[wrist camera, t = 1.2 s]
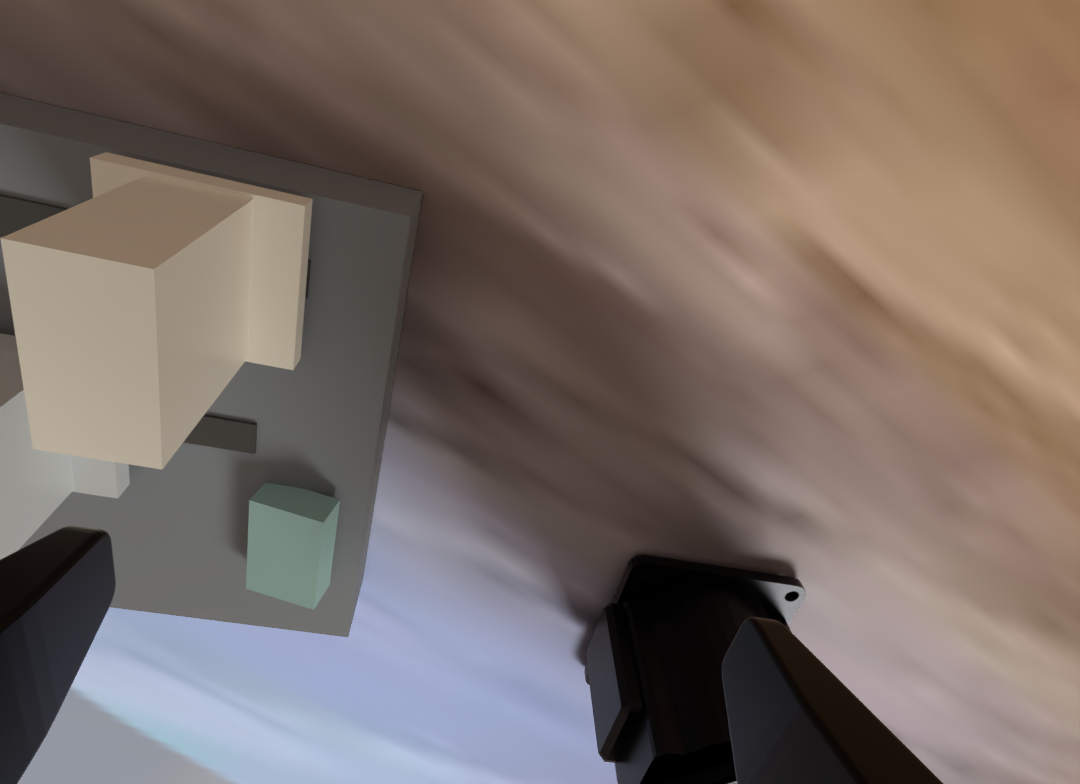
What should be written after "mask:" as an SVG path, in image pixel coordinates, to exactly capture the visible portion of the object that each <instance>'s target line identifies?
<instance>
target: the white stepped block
mask: <svg viewBox="0 0 1080 784" xmlns="http://www.w3.org/2000/svg"><path fill="white" fill-rule="evenodd" d="M129 484H130V479H129V464H124V463H117V462H111V461H105V460H99V459H92V458H86V457H80V456H73V455H67V454H61V453H54V452H48V451H42V450H35V449H33V446H32V439H31V433H30V426H29V420H28V413H27V407H26V401H25V394H24V388H23V381H22V375H21V368H20V362H19V355H18V349H17V342H16V336H13V335H7V334H2V333H0V560H1V559H2V558H4V557H6V556H8V555H10V554H12V553H14V552H16V551H18V550H19V549H20V548H21V547H22V545H23V544H24V543H25V542H26V541H27V540H28V539H29V538H30V537H31V536H32V535H33V534H34V532H35V531H36V530H37V529H38V528H39V527H40V526H41V525H42V524H43V523H44V522H45V520H46V519H47V518H48V517H49V516H50V515H51V514H52V513H53V512H54V511H55V510H56V509H57V507H58V506H59V505H60V504H61V503H62V502H63V501H64V500H65V499H66V498H67V497H68V495H69V494H70V493H71V492H77V493H84V494H91V495H97V496H104V497H111V498H117V499H118V498H119V497H120V495H121V494H122V493H123V492H124V491H125V489H126V488H127V487H128V486H129Z"/></svg>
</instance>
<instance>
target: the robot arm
mask: <svg viewBox="0 0 1080 784" xmlns="http://www.w3.org/2000/svg"><path fill="white" fill-rule="evenodd" d="M641 569H646V570H644V571H639V570H641ZM115 587H116V577H115V569H114V560H113V551H112V542H111V538H110V535H109V534H108V533H107V532H106V531H104V530H102V529H95V528H87V527H80V526H66V527H63V528H60V529H58V530H56V531H54V532H52V533H50V534H49V535H47V536H45V537H43V538H41V539H39V540H37V541H35V542H33V543H31V544H29V545H27V546H25V547H24V548H22V549H20V550H18V551H16V552H14V553H12V554H10V555H8V556H6V557H4V558H2V559H1V560H0V784H17V783H18V781H19V780H20V778H21V777H22V775H23V774H24V772H25V770H26V769H27V767H28V765H29V764H30V762H31V760H32V759H33V757H34V756H35V754H36V752H37V750H38V749H39V747H40V745H41V744H42V742H43V740H44V738H45V737H46V735H47V733H48V731H49V729H50V727H51V725H52V723H53V721H54V720H55V718H56V716H57V714H58V712H59V710H60V708H61V706H62V703H63V701H64V699H65V697H66V695H67V693H68V691H69V689H70V687H71V685H72V683H73V681H74V679H75V677H76V675H77V673H78V670H79V668H80V666H81V664H82V662H83V660H84V658H85V656H86V654H87V652H88V650H89V648H90V646H91V644H92V642H93V640H94V637H95V635H96V633H97V631H98V629H99V627H100V625H101V623H102V621H103V619H104V617H105V615H106V613H107V611H108V609H109V607H110V604H111V602H112V599H113V596H114V593H115ZM805 596H806V592H805V589H804V588H803V586H802V584H801V582H800V581H799V580H798V579H795V578H791V577H785V576H778V575H772V574H765V573H759V572H753V571H746V570H740V569H733V568H727V567H721V566H714V565H708V564H701V563H695V562H689V561H682V560H676V559H669V558H663V557H657V556H650V555H639V556H636V557H634V558H633V559H631V560H630V562H629V563H628V565H627V568H626V570H625V573H624V575H623V577H622V580H621V582H620V585H619V587H618V589H617V592H616V594H615V597H614V599H613V601H612V603H609V604H608V605H607V606H606V607H605V608H604V609H603V612H602V614H601V617H600V619H599V621H598V624H597V626H596V629H595V631H594V634H593V636H592V639H591V641H590V643H589V646H588V648H587V651H586V659H587V664H586V667H585V679H586V682H587V684H589V685H590V691H591V699H592V707H593V715H594V723H595V731H596V739H597V747H598V753H599V755H600V756H601V757H602V759H603V760H604V761H605V762H614V763H615V768H616V775H617V782H618V784H943V783H942V782H941V781H940V780H939V779H938V778H937V777H936V776H935V775H934V774H933V773H932V772H931V771H930V770H929V769H928V768H927V767H926V766H925V765H924V764H923V763H922V762H921V761H920V760H919V759H918V758H917V757H916V756H915V755H914V754H913V753H912V752H911V751H910V750H909V749H908V748H907V747H906V746H905V745H904V744H903V743H902V742H901V741H900V740H899V739H898V738H897V737H896V736H895V735H894V734H893V733H892V732H891V731H890V730H889V729H888V728H887V727H886V726H885V725H884V724H883V723H882V722H881V721H880V720H879V719H878V718H877V717H876V716H875V715H874V714H873V713H872V712H871V711H870V710H869V709H868V708H867V707H866V706H865V705H864V704H863V703H862V702H861V701H860V700H859V699H858V698H857V697H856V696H855V695H854V694H853V693H852V692H851V691H850V690H849V689H848V688H847V687H846V686H845V685H844V684H843V683H842V682H841V681H840V680H839V679H838V678H837V677H836V676H835V675H834V674H833V673H832V672H831V671H830V670H829V669H828V668H827V667H826V666H825V665H824V664H823V663H822V662H821V661H820V660H819V659H818V658H817V657H816V656H815V655H814V654H813V653H812V652H810V651H809V650H808V649H807V648H806V647H805V646H804V645H803V644H802V643H801V642H800V641H799V640H798V639H797V638H796V637H795V636H794V635H793V634H792V632H791V630H790V628H789V626H788V625H789V623H790V622H791V620H792V618H793V617H794V615H795V613H796V612H797V610H798V609H799V607H800V605H801V604H802V602H803V600H804V599H805Z"/></svg>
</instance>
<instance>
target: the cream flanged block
mask: <svg viewBox="0 0 1080 784" xmlns="http://www.w3.org/2000/svg"><path fill="white" fill-rule="evenodd" d="M90 167H91V179H92V191H93V198H92V199H90V200H88V201H85V202H83V203H81V204H78V205H76V206H74V207H71V208H69V209H67V210H65V211H62V212H60V213H58V214H55V215H53V216H51V217H48V218H46V219H44V220H41V221H39V222H37V223H34V224H32V225H30V226H28V227H25V228H23V229H21V230H18V231H16V232H14V233H11V234H9V235H7V236H4V237H2V238H0V239H1V245H2V252H3V258H4V265H5V271H6V277H7V284H8V290H9V297H10V303H11V310H12V316H13V323H14V329H15V336H16V342H17V349H18V355H19V362H20V368H21V375H22V381H23V388H24V394H25V401H26V407H27V413H28V420H29V426H30V433H31V439H32V446H33V449H35V450H42V451H48V452H54V453H61V454H67V455H73V456H80V457H86V458H92V459H99V460H105V461H111V462H117V463H124V464H130V465H136V466H143V467H149V468H155V469H163V468H164V467H165V465H166V464H167V463H168V462H169V460H170V459H171V458H172V456H173V455H174V454H175V452H176V451H177V450H178V448H179V447H180V446H181V445H182V443H183V442H184V441H185V439H186V438H187V437H188V435H189V434H190V433H191V431H192V430H193V429H194V428H195V426H196V425H197V424H198V422H199V421H200V420H201V418H202V417H203V416H204V414H205V413H206V412H207V411H208V409H209V408H210V407H211V405H212V404H213V403H214V401H215V400H216V399H217V397H218V396H219V395H220V394H221V392H222V391H223V390H224V388H225V387H226V386H227V384H228V383H229V382H230V380H231V379H232V378H233V377H234V375H235V374H236V373H237V371H238V370H239V369H240V367H241V366H242V365H243V363H244V362H245V361H246V362H251V363H256V364H262V365H267V366H272V367H278V368H283V369H289V370H294V368H295V367H296V365H297V363H298V362H299V360H300V359H301V345H302V332H303V319H304V306H305V293H306V280H307V267H308V254H309V241H310V228H311V214H312V201H313V199H311V198H307V197H302V196H298V195H293V194H289V193H285V192H280V191H276V190H271V189H267V188H263V187H258V186H254V185H249V184H245V183H240V182H236V181H232V180H227V179H223V178H218V177H214V176H210V175H205V174H201V173H196V172H192V171H187V170H183V169H179V168H174V167H170V166H165V165H161V164H157V163H152V162H148V161H143V160H139V159H134V158H130V157H126V156H121V155H117V154H112V153H108V152H105V153H102V154H99V155H96V156H93V157H90Z"/></svg>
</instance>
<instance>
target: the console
mask: <svg viewBox="0 0 1080 784" xmlns="http://www.w3.org/2000/svg"><path fill="white" fill-rule="evenodd" d="M105 152H108V153H112V154H117V155H121V156H126V157H130V158H134V159H139V160H143V161H148V162H152V163H157V164H161V165H165V166H170V167H174V168H179V169H183V170H187V171H192V172H196V173H201V174H205V175H210V176H214V177H218V178H223V179H227V180H232V181H236V182H240V183H245V184H249V185H254V186H258V187H263V188H267V189H271V190H276V191H280V192H285V193H289V194H293V195H298V196H302V197H307V198H311V199H313V201H312V214H311V228H310V241H309V254H308V267H307V280H306V293H305V306H304V319H303V332H302V345H301V359H300V360H299V362H298V363H297V365H296V367H295V368H294V370H289V369H283V368H278V367H272V366H267V365H262V364H256V363H251V362H246V361H245V362H244V363H243V365H242V366H241V367H240V369H239V370H238V371H237V373H236V374H235V375H234V377H233V378H232V379H231V380H230V382H229V383H228V384H227V386H226V387H225V388H224V390H223V391H222V392H221V394H220V395H219V396H218V397H217V399H216V400H215V401H214V403H213V404H212V405H211V407H210V408H209V409H208V411H207V412H206V413H205V414H204V416H203V417H202V418H201V420H200V421H199V422H198V424H197V425H196V426H195V428H194V429H193V430H192V431H191V433H190V434H189V435H188V437H187V438H186V439H185V441H184V442H183V443H182V445H181V446H180V447H179V448H178V450H177V451H176V452H175V454H174V455H173V456H172V458H171V459H170V460H169V462H168V463H167V464H166V465H165V467H164V468H163V469H155V468H149V467H143V466H136V465H130V464H129V479H130V484H129V486H128V487H127V488H126V489H125V491H124V492H123V493H122V494H121V495H120V497H119V498H118V499H117V498H111V497H104V496H97V495H91V494H84V493H77V492H71V493H70V494H69V495H68V497H67V498H66V499H65V500H64V501H63V502H62V503H61V504H60V505H59V506H58V507H57V509H56V510H55V511H54V512H53V513H52V514H51V515H50V516H49V517H48V518H47V519H46V520H45V522H44V523H43V524H42V525H41V526H40V527H39V528H38V529H37V530H36V531H35V532H34V534H33V535H32V536H31V537H30V538H29V539H28V540H27V541H26V542H25V543H24V544H23V545H22V547H21V548H20V549H22V548H24V547H25V546H27V545H29V544H31V543H33V542H35V541H37V540H39V539H41V538H43V537H45V536H47V535H49V534H50V533H52V532H54V531H56V530H58V529H60V528H63V527H66V526H80V527H87V528H95V529H102V530H104V531H106V532H107V533H108V534H109V535H110V538H111V542H112V551H113V560H114V569H115V577H116V587H115V593H114V596H113V599H112V602H111V604H110V607H114V608H122V609H130V610H137V611H145V612H153V613H161V614H169V615H177V616H185V617H193V618H201V619H209V620H217V621H224V622H232V623H240V624H248V625H256V626H264V627H272V628H280V629H288V630H296V631H304V632H312V633H319V634H327V635H335V636H343V637H348V635H349V631H350V627H351V624H352V620H353V616H354V612H355V608H356V604H357V600H358V596H359V592H360V588H361V585H362V581H363V575H364V568H365V562H366V555H367V549H368V542H369V536H370V530H371V523H372V517H373V510H374V504H375V497H376V491H377V484H378V478H379V472H380V465H381V459H382V452H383V446H384V439H385V433H386V427H387V420H388V414H389V407H390V401H391V394H392V388H393V382H394V375H395V369H396V362H397V356H398V349H399V343H400V337H401V330H402V324H403V317H404V311H405V304H406V298H407V292H408V285H409V279H410V272H411V266H412V259H413V253H414V247H415V240H416V234H417V227H418V221H419V214H420V208H421V201H422V195H423V192H422V191H418V190H414V189H409V188H405V187H401V186H396V185H392V184H388V183H384V182H379V181H375V180H371V179H367V178H362V177H358V176H354V175H349V174H345V173H341V172H337V171H332V170H328V169H324V168H320V167H315V166H311V165H307V164H302V163H298V162H294V161H290V160H285V159H281V158H277V157H273V156H268V155H264V154H260V153H255V152H251V151H247V150H243V149H238V148H234V147H230V146H226V145H221V144H217V143H213V142H208V141H204V140H200V139H196V138H191V137H187V136H183V135H179V134H174V133H170V132H166V131H161V130H157V129H153V128H149V127H144V126H140V125H136V124H132V123H127V122H123V121H119V120H114V119H110V118H106V117H102V116H97V115H93V114H89V113H84V112H80V111H76V110H72V109H67V108H63V107H59V106H55V105H50V104H46V103H42V102H37V101H33V100H29V99H25V98H20V97H16V96H12V95H8V94H3V93H0V238H2V237H4V236H7V235H9V234H11V233H14V232H16V231H18V230H21V229H23V228H25V227H28V226H30V225H32V224H34V223H37V222H39V221H41V220H44V219H46V218H48V217H51V216H53V215H55V214H58V213H60V212H62V211H65V210H67V209H69V208H71V207H74V206H76V205H78V204H81V203H83V202H85V201H88V200H90V199H92V198H93V191H92V179H91V167H90V157H93V156H96V155H99V154H102V153H105ZM0 333H2V334H7V335H13V336H15V329H14V323H13V316H12V310H11V303H10V297H9V290H8V284H7V277H6V271H5V265H4V258H3V252H2V245H1V239H0ZM20 549H19V550H20Z"/></svg>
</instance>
